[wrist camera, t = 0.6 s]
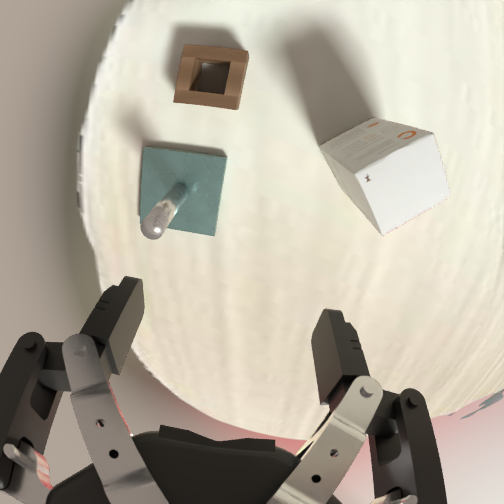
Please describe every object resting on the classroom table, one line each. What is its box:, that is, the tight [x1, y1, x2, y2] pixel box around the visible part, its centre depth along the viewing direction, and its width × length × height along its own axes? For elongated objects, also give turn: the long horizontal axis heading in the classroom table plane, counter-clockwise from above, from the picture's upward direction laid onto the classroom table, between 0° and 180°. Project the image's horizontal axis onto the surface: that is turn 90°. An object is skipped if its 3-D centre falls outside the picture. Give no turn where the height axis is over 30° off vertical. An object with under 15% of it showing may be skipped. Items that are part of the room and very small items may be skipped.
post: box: [140, 146, 227, 240], centre depth 29 cm, size 10×10×11 cm
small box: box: [319, 118, 451, 236], centre depth 25 cm, size 8×6×13 cm
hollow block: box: [173, 45, 249, 110], centre depth 25 cm, size 6×6×4 cm
